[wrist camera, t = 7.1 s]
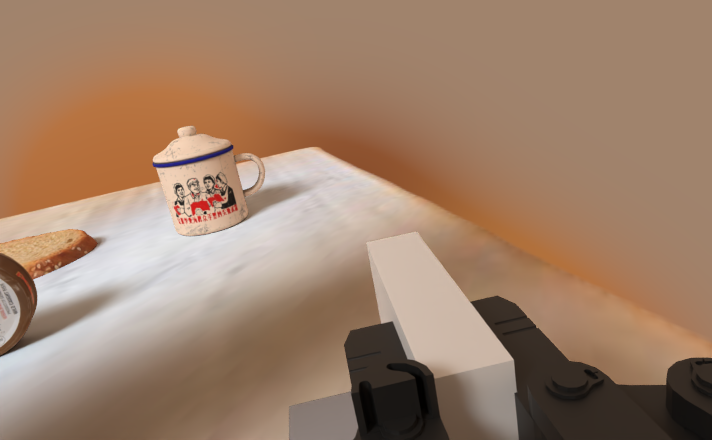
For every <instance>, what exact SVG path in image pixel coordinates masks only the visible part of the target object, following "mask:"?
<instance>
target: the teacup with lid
mask: <svg viewBox="0 0 712 440" xmlns="http://www.w3.org/2000/svg"><path fill="white" fill-rule="evenodd" d="M178 135H179V136H180V138H178V139H175V140H174V141H172V142H171V143H170V144H169V146H167V148H166V149H165V150H163V151H162V152H160V153H159V154H157V155H155V156H154V158H153V166H154V167H156V169H157V172H158V175H159V178H160V182H161V185H162V188H163V191H164V194H165V197H166V200H167V204H168V207H169V210H170V213H171V216H172V219H173V223H174V226H175V229H176V231H177V232H178V233H179V234H181V235H185V236H196V235H204V234H209V233H213V232H217V231H220V230H223V229H226V228H229V227H231V226H234V225H236V224H238V223H239V222H241V221H242V220H244V219H245V218H246V217H247V215H248V209H247V205H246V201H245V197H246V196H249V195H251V194H254V193H255V192H257V191H258V190H259V189H260V188H261V186H262V184H263V182H264V178H265V168H264V165H263V163H262V161H261V160H260V158H258V157H257V156H255V155H253V154H249V153H244V154H239V155H235V156H233V152H232V149H233V145H231V142H230V141H228V140H226V139H217V138H214V137H211V136H209V135H206V134H196V128H195V127H194V126H187V127H183V128H179V129H178ZM246 159H248V160H252V161H254V162H256V163H257V165H258V167H259V177H258V180H257V182H256V184H255V185H254V186H252V187H251V188H249V189H246V190H242V186H241V182H240V178H239V175H238V171H237V167H236V163H235V162H237V161H241V160H246Z"/></svg>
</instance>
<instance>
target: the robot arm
mask: <svg viewBox="0 0 712 440" xmlns="http://www.w3.org/2000/svg"><path fill="white" fill-rule="evenodd" d="M366 245H367V251H368V256H369V261H370V267H371V272H372V277H373V283H374V288H375V293H376V299H377V304H378V309H379V315H380V320H381V324H378V325H374V326H369V327H365V328H360V329H356V330H352V331H350V333H349V335H348V338H347V340H346V342H345V344H344V347H345V352H346V358H347V363H348V368H349V373H350V379H351V384H352V389H351V396H352V401H353V405H354V410H355V414H356V419H357V424H358V429H357V433H356V436H355V438H354V439H353V440H712V358H689V359H685V360H682V361H678V362H676V363H675V364H674V365H672V366H671V367H670V368H669V369H668V373H667V379H666V385H618V384H615V383H614V382H613V381H612V380H611V379H610V378H609V377H608V376H607V375H606V374H604V373H603V372H601V371H600V370H598V369H597V368H595V367H592V366H589V365H587V364H584V363H581V362H572V361H569V360H568V359H567V358H566V357H565V356H564V355H563V354H562V353H561V352H560V351H559V350H558V348H557V347H556V346H555V345H554V344H553V343H552V342H551V341H550V340H549V339H548V338H547V337H546V336H545V335H544V334H543V333H542V331H541V330H540V329H539V328H536V325H535V324H534V323H533V322H532V321H531V320H530V319H529V318H527V316H526V314H525V313H524V312H523V311H522V310H521V309H520V308H519V307H518V306H517V305H516V304H515V303H512V302H510V301H508V300H506V299H504V298H501V297H499V296H494V297H490V298H485V299H481V300H476V301H472V302H470V301H469V300H468V299H467V297H466V296H465V295H464V293H463V292H462V291H461V289H460V288H459V287H458V285H457V284H456V283H455V281H454V280H453V279H452V277H451V276H450V275H449V274H448V272H447V271H446V270H445V268H444V267H443V266H442V264H441V263H440V262H439V260H438V259H437V258H436V256H435V255H434V254H433V252H432V251H431V250H430V248H429V247H428V246H427V244H426V243H425V242H424V240H423V239H422V238H421V236H420V235H419V234H418V233H417V231H416V232H411V233H407V234H402V235H397V236H393V237H388V238H384V239H379V240H374V241H370V242H366Z"/></svg>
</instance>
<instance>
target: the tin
mask: <svg viewBox="0 0 712 440" xmlns="http://www.w3.org/2000/svg"><path fill="white" fill-rule="evenodd" d="M36 306H37V291H36V287H35V284H34V281H33V279H32V277H31V276H30V274H29V273H28V272H27V271H26V269H25V268H24V267H23V266H22V265H20V264H19V263H18V262H16V261H15V260H14V259H12V258H11V257H9V256H7V255H5V254H2V253H0V355H2V354H4V353H6V352H7V351H8V350H10V349H11V348H12V347H14V346H15V345H16V344H17V343H18V342H19V341H20V339H21V338H22V337H23V336H24V334H25V332H26V331H27V329H28V327H29V325H30V322H31V319H32V317H33V315H34V313H35V310H36Z"/></svg>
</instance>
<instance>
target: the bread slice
mask: <svg viewBox="0 0 712 440" xmlns="http://www.w3.org/2000/svg"><path fill="white" fill-rule="evenodd" d="M97 244H98V243H97V242H96V241H95V240H94V239H93V238H92V237H91V236H89V235H87V234H86V233H85V232H84V231H82V230H74V229H68V230H63V231H57V232H53V233H51V232H50V233H46V234H41V235H39V236H32V237H26V238H23V239H18V240H12V241H10V242H5V243H0V253H2V254H5V255H7V256H9V257H11V258H12V259H14V260H15V261H16V262H18V263H19V264H20V265H22V266H23V267H24V268H25V269H26V271H27V272H28V273H29V274H30V276H31V277H32V279H35V278H38V277H40V276H43V275H45V274H47V273H50V272H52V271H54V270H57V269H59V268H61V267H63V266H65V265H67V264H69V263H71V262H73V261H75V260H77V259H79V258H81V257H82V256H84V255H86V254H87V253H89V252H90V251H92V250H93V249H94V248H95V247H96V245H97Z"/></svg>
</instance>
